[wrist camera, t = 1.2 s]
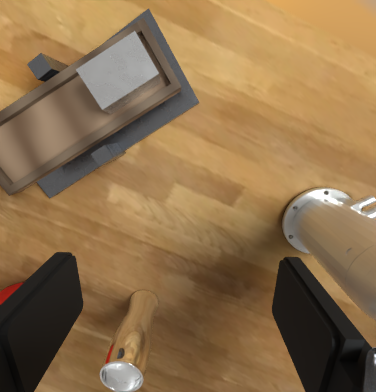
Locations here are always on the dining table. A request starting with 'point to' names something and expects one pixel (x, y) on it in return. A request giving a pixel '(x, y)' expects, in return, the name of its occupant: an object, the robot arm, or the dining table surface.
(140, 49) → the steel block
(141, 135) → the pivot stand
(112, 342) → the beer glass
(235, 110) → the dining table surface
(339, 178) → the dining table surface
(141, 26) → the long rimmed wooden tray
